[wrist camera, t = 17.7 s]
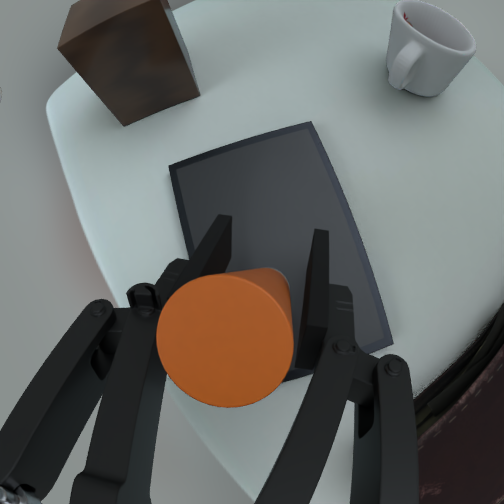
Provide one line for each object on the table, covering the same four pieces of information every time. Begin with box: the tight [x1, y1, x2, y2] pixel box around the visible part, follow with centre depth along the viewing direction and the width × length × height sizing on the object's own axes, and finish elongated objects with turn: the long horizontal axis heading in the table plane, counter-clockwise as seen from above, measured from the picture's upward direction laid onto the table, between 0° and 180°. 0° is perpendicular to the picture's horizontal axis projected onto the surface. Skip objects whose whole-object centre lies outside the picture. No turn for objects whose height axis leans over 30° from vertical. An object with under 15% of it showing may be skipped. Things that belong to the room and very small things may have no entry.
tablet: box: [169, 121, 394, 383], centre depth 21 cm, size 12×18×1 cm, turn 17°
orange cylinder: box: [156, 268, 294, 408], centre depth 13 cm, size 3×3×14 cm
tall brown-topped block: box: [57, 0, 200, 126], centre depth 20 cm, size 8×8×12 cm
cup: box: [386, 0, 476, 97], centre depth 19 cm, size 11×8×8 cm
